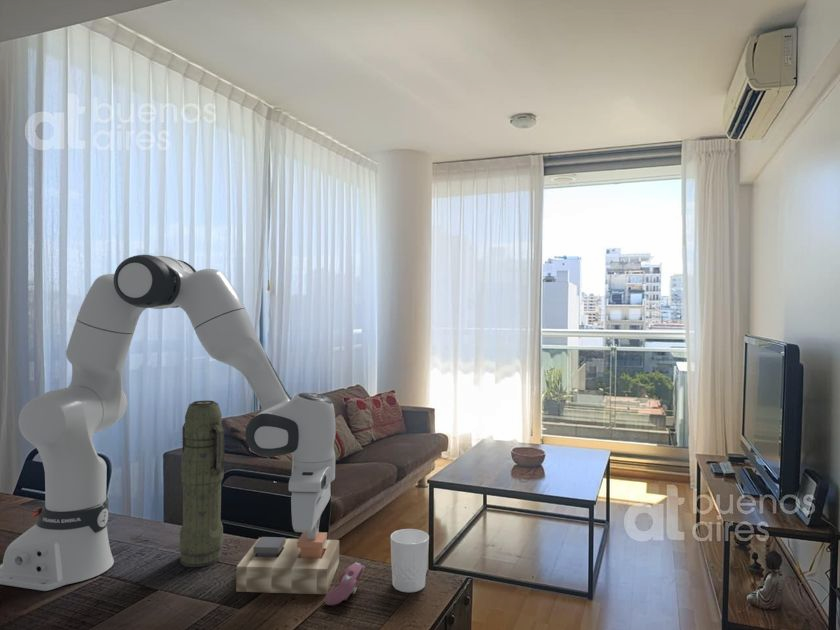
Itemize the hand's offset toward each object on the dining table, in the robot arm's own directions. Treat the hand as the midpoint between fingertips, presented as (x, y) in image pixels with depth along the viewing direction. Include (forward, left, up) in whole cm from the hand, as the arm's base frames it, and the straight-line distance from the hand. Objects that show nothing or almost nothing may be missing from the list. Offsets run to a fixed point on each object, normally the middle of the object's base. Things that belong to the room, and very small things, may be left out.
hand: (312, 537), depth 117 cm
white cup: (+20, -2, -9) cm, 22 cm away
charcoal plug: (-9, 0, -8) cm, 12 cm away
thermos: (-27, +7, -9) cm, 29 cm away
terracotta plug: (0, 0, -7) cm, 7 cm away
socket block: (-5, 0, -8) cm, 10 cm away
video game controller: (+8, -7, -9) cm, 14 cm away
